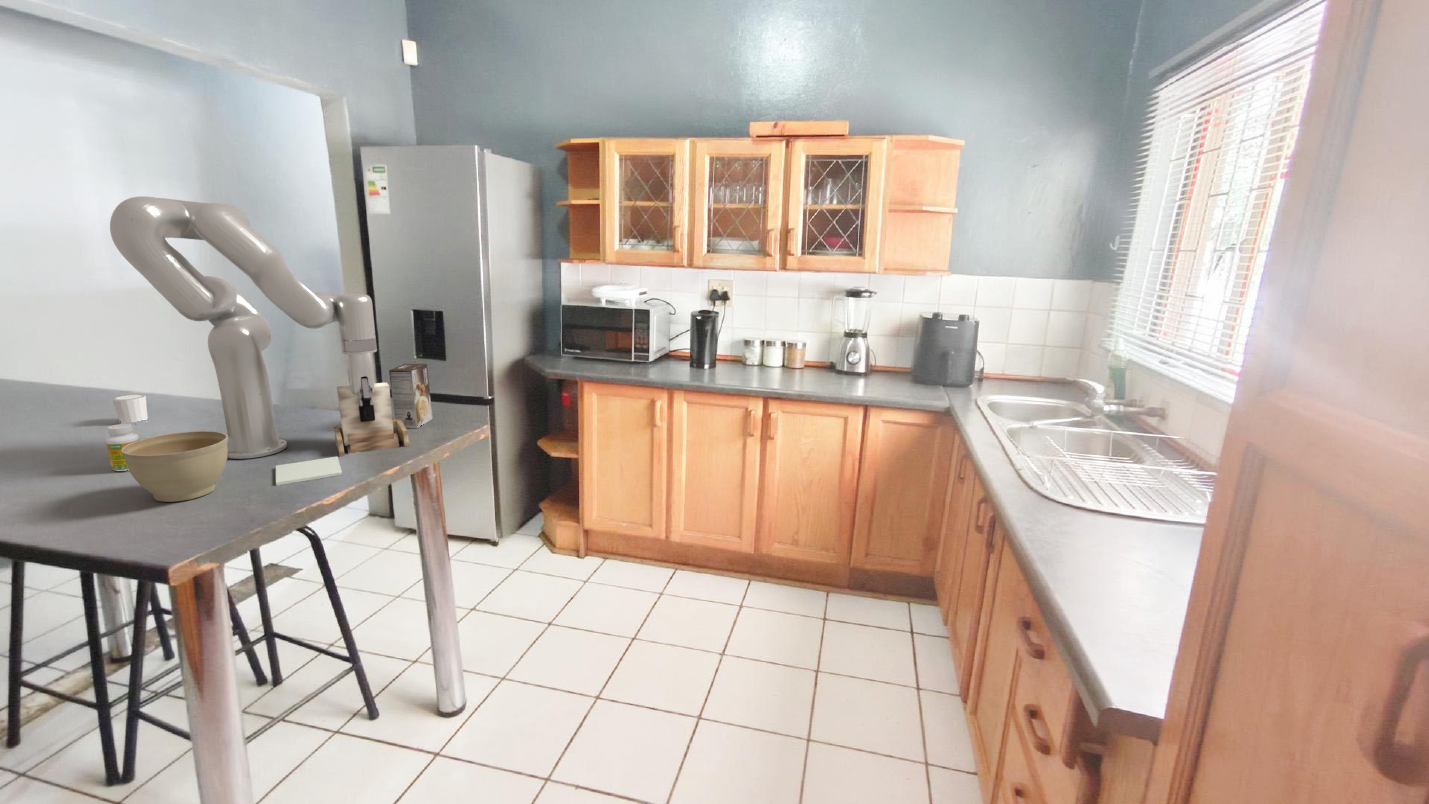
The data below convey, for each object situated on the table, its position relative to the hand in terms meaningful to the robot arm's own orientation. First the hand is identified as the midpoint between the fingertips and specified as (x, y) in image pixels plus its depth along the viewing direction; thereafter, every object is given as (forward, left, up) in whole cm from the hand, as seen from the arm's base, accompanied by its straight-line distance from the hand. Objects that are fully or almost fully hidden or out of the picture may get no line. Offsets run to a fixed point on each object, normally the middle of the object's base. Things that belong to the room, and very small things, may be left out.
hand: (366, 418), depth 162 cm
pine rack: (0, -2, -6) cm, 7 cm away
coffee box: (+12, +12, -6) cm, 18 cm away
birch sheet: (0, 0, -6) cm, 6 cm away
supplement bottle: (-47, +6, -6) cm, 48 cm away
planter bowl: (-35, -18, -6) cm, 40 cm away
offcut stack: (0, -5, -7) cm, 8 cm away
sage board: (-14, -16, -6) cm, 22 cm away
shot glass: (-52, +51, -6) cm, 73 cm away
